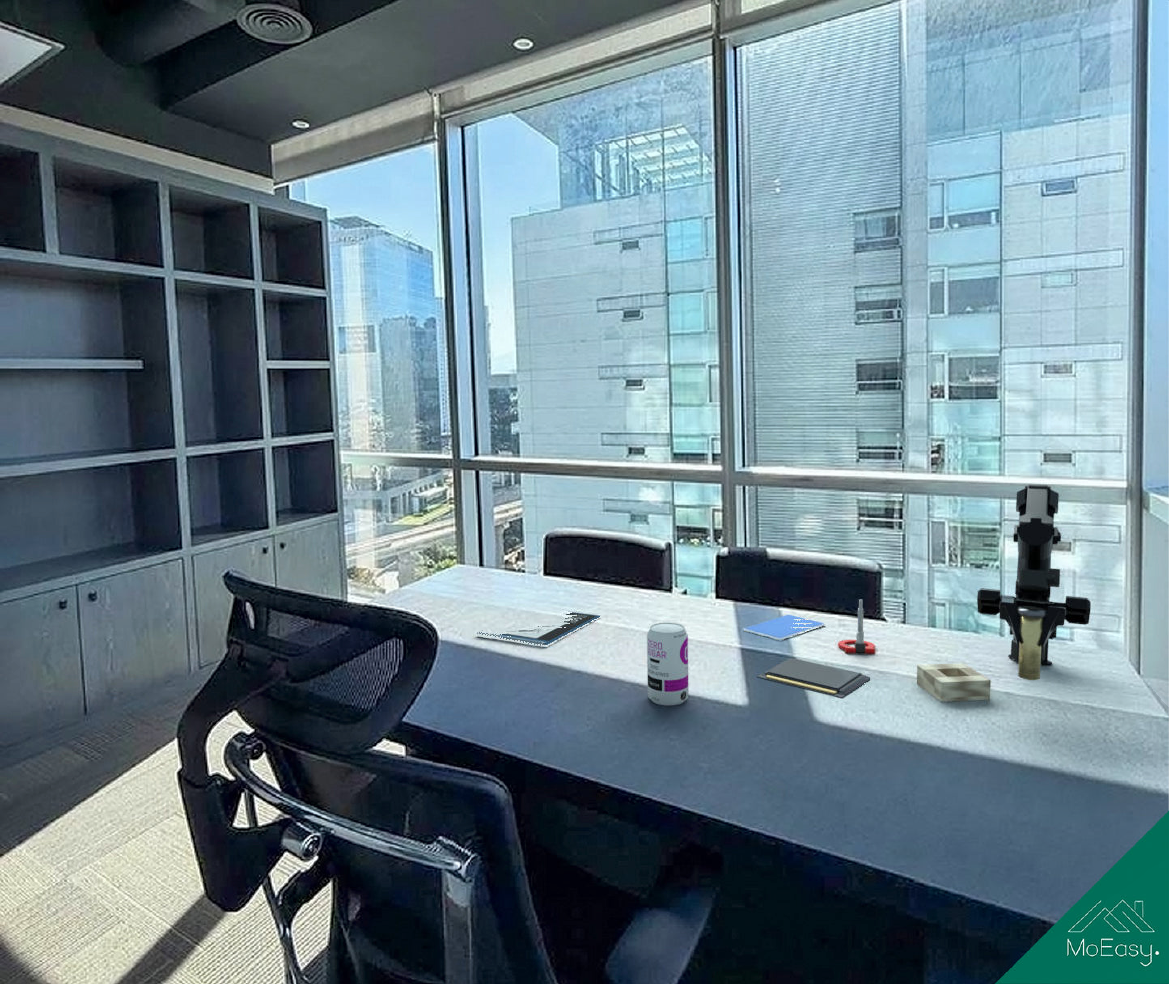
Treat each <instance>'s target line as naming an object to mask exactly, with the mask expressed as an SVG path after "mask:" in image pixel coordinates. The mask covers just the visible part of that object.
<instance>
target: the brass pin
mask: <svg viewBox="0 0 1169 984" xmlns="http://www.w3.org/2000/svg"><path fill="white" fill-rule="evenodd" d="M1018 614H1020V615H1021V619H1020V642H1019V663H1018V665H1017V667H1018V668H1017V676H1018V677H1019V678H1021V679H1023V680H1028V681H1039V680H1040V678H1041V666H1042V665H1041V638H1042V623H1043V617H1045V616H1046V610H1045V609H1043V608H1039V607H1034V606H1021V607H1018Z"/></svg>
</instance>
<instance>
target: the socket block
mask: <svg viewBox="0 0 1169 984" xmlns="http://www.w3.org/2000/svg"><path fill="white" fill-rule="evenodd" d="M991 682H992V681H991V679H989V677H987V676H985V675H984V674H981V672H979V671H977V670H975V669H974V668H972V667H971V666H969V665H968V664H965V663H964V662H962V663H961V662H960V663H959V662H958V663H957V662H956V663H955V662H954V663H939V664H938V663H936V664H918V665H917V666H916V684H917V685H918V686H919V687H920V688H922V689H923V690H925V691H926V692H927V693H929V694H930V695H931V696H932V695H933V696H932V697H934V698H935V699H936V700H938V701H941V703H944V702H946V703H947V702H948V701H949V702H966V701H967V702H968V701H985V700H986V701H989V700H988V699H990V700H991V686H992V685H991Z"/></svg>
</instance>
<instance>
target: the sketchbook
mask: <svg viewBox="0 0 1169 984" xmlns="http://www.w3.org/2000/svg"><path fill="white" fill-rule="evenodd" d="M571 612H572V613H570V614H566V615H577V616H572V617H568V618H565V619H573V620H570V621H564V622H561V623H570V624H561V625H552V626H542V627H562V628H554V629H547V630H541V629H534V630H518V631H516V630H515V631H506V632H533V633H517V634H516V633H514V634H509V633H507V634H502V635H501V634H500V635H496V634H495V635H496V636H498V637H500V636H501V638H502V637H503V639H504V638H506V640H507V639H509V640H510V639H512V640H514V641H515V640H517V641H518V640H520V642H521V641H523V643H524V641H525V642H526V643H527V642H529V643H531V644H532V643H534V645H535V644H537V645H538V644H540V646H541V644H542V645H548V644H550V643H552V642H554V641H555V640H558V639H559V638H561V637H562V636H565V635H567V634H568V633H570V632H573V631H574V630H576V629H577V628H579V627H582V626H583V625H585V624H587V623H590V622H591V621H592V620H594V619H597V618H599V617H600V616H601V615H597V614H590V613H585V612H583V613H582V612H574V611H571ZM599 619H600V618H599ZM590 624H591V623H590ZM538 627H539V626H538ZM564 627H566V628H564ZM534 632H536V633H534ZM476 633H477V634H478V633H479V634H481V633H482V632H481V633H480V631H478V632H476ZM483 634H485V633H482V635H483ZM486 634H488V633H486ZM486 634H485V635H486ZM488 635H489V634H488ZM488 635H487V636H488ZM491 635H493V636H495V635H494V634H490V636H491ZM496 636H495V637H496ZM507 636H509V637H507ZM510 636H511V637H510ZM501 638H500V639H501ZM529 643H528V644H529Z"/></svg>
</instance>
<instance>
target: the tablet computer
mask: <svg viewBox="0 0 1169 984" xmlns="http://www.w3.org/2000/svg"><path fill="white" fill-rule="evenodd" d="M794 619H801V620H800V621H799V620H798V621H797V620H794ZM802 619H803V620H802ZM805 619H806V618H804V617H801V616H796V615H792V614H784V615H782V616H780V617H779V616H778V617H776V618H773V619H770V620H767V621H763V622H759V623H757V624H754V625H750V626H747V627H744V628H742V631H743V630H744V631H743V632H745V631H746V632H745V633H749V632H753V633H756V634H758V635H757V636H759V635H761V636H760V637H762V636H769V637H771V638H774V639H777V640H783V641H785V640H784V639H786V638H788V637H790V636H794V635H796V634H798V633H800V632H805V631H806V630H808V629H809V630H810V629H811V628H803V629H802V628H796V629H795V628H793V627H812V628H814V627H821V626H824V625H825V626H826V624H825V623H824V622H822V621H821V622H820V621H818V620H817V621H816V620H812V619H809V620H805ZM793 623H794V624H793ZM795 623H812V624H806V625H804V624H799V625H798V624H795ZM791 627H792V628H791ZM821 628H822V627H821ZM786 640H787V639H786Z"/></svg>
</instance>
